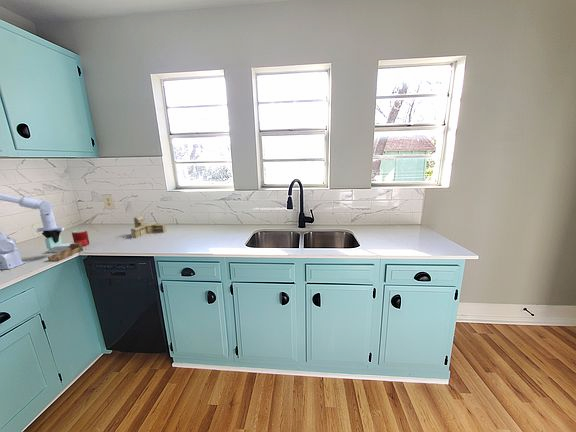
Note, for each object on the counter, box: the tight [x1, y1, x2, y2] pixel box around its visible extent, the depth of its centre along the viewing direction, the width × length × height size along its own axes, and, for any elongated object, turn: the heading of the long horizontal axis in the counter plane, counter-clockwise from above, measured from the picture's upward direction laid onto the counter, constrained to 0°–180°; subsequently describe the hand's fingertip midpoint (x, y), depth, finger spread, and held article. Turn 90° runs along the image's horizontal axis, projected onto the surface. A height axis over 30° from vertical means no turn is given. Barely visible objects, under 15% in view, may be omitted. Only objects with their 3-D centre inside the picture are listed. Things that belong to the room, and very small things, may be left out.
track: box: [47, 242, 84, 263], centre depth 151 cm, size 18×6×5 cm, turn 3°
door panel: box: [44, 234, 63, 249], centre depth 149 cm, size 8×2×6 cm, turn 3°
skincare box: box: [47, 242, 73, 254], centre depth 160 cm, size 6×4×12 cm
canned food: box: [71, 228, 90, 248], centre depth 169 cm, size 8×8×11 cm
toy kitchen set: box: [130, 215, 167, 239], centre depth 191 cm, size 18×17×15 cm
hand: (54, 242), depth 150 cm, fingers closed on door panel, 2 cm apart
